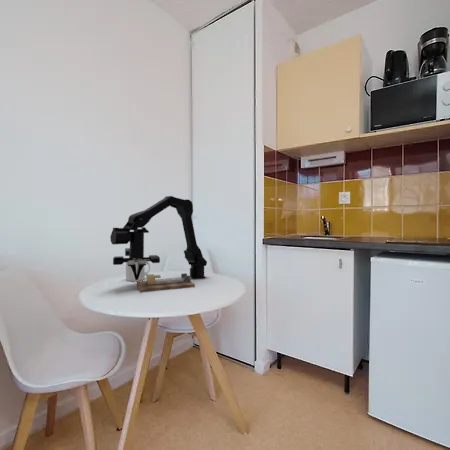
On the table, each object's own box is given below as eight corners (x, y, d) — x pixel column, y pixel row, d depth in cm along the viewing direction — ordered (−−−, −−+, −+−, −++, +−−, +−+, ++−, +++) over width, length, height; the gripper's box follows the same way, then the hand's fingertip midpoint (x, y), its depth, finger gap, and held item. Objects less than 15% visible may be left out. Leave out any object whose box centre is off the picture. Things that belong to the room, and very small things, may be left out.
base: (185, 280, 136) (185, 271, 136) (194, 286, 122) (194, 277, 122) (136, 284, 127) (136, 275, 127) (140, 292, 113) (140, 282, 113)
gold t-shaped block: (159, 281, 126) (159, 273, 126) (161, 283, 121) (161, 275, 121) (146, 282, 124) (146, 274, 124) (148, 284, 119) (148, 276, 119)
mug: (153, 279, 138) (153, 257, 138) (130, 282, 130) (130, 259, 130) (146, 276, 144) (146, 255, 144) (123, 279, 137) (123, 257, 136)
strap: (184, 279, 130) (184, 277, 130) (187, 281, 126) (187, 278, 126) (154, 282, 124) (154, 279, 124) (155, 284, 121) (155, 281, 121)
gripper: (155, 241, 130) (155, 275, 130) (112, 242, 123) (112, 277, 123) (160, 243, 120) (159, 279, 120) (113, 244, 113) (113, 283, 113)
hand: (136, 279), depth 119 cm, fingers closed
